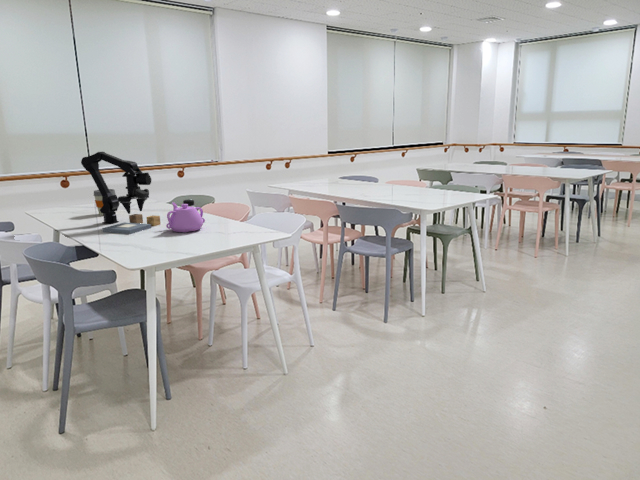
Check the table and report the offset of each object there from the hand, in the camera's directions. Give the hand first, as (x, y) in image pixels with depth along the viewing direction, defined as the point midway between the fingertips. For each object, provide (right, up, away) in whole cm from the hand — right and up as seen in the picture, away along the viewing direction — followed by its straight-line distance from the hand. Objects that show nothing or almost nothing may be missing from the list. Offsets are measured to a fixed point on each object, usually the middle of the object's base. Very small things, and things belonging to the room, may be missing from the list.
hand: (135, 212), depth 277 cm
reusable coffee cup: (-30, +1, +33) cm, 45 cm away
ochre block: (+12, -7, -4) cm, 15 cm away
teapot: (+32, -10, -17) cm, 38 cm away
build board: (+2, -10, -16) cm, 19 cm away
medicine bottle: (+29, -4, +8) cm, 30 cm away
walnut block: (0, -6, +1) cm, 6 cm away
